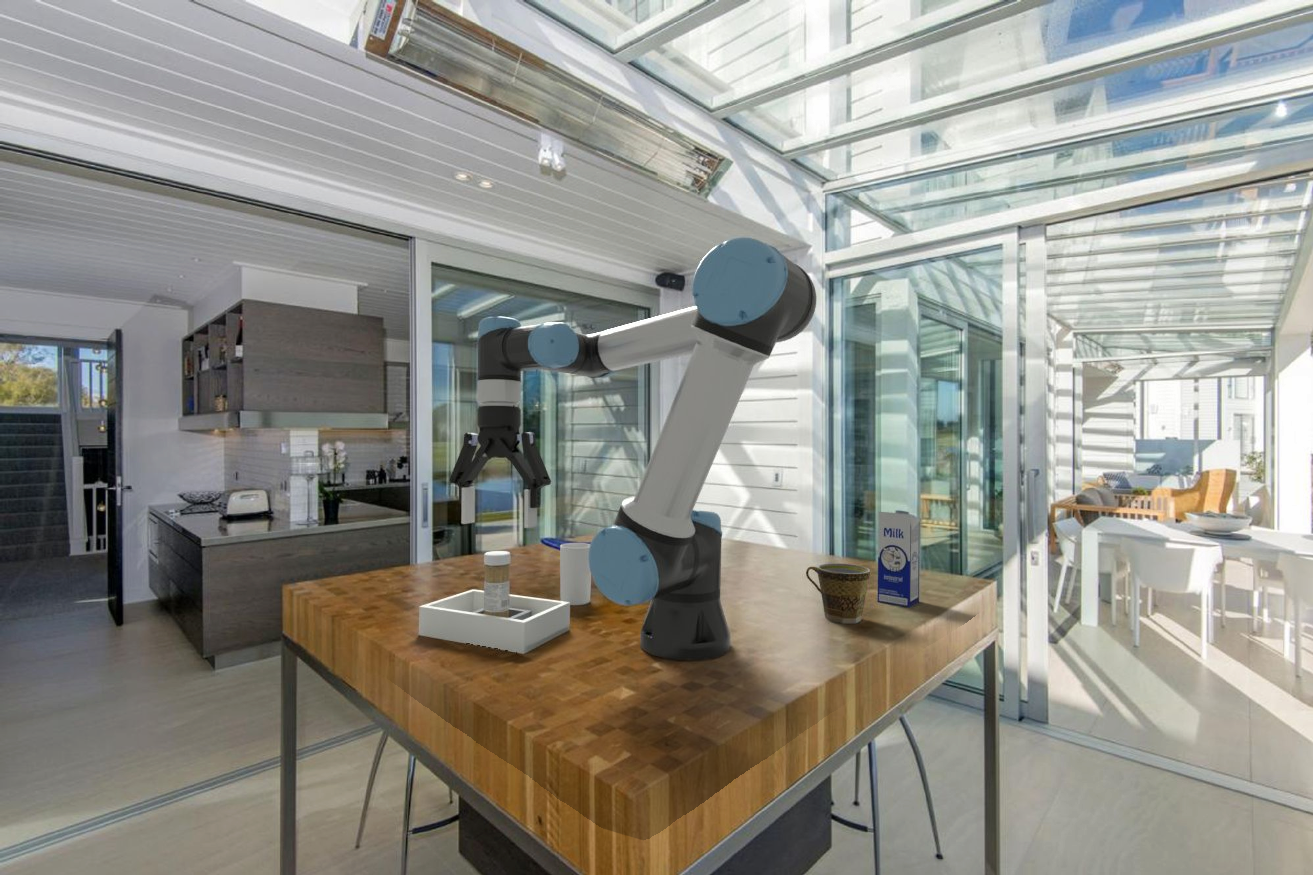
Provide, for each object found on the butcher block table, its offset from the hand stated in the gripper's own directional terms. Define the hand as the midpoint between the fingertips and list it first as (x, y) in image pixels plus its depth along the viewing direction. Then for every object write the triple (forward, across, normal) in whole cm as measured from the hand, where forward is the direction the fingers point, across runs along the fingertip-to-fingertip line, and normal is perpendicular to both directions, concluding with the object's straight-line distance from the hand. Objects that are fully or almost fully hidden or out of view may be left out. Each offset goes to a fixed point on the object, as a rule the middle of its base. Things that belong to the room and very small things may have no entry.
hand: (498, 525), depth 109 cm
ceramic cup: (+20, -53, -37) cm, 68 cm away
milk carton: (+20, -64, -56) cm, 88 cm away
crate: (+19, +1, 0) cm, 19 cm away
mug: (+19, 0, -26) cm, 32 cm away
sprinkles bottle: (+18, 0, 0) cm, 19 cm away
